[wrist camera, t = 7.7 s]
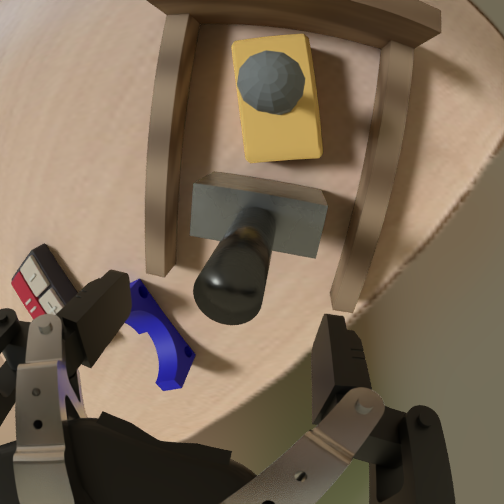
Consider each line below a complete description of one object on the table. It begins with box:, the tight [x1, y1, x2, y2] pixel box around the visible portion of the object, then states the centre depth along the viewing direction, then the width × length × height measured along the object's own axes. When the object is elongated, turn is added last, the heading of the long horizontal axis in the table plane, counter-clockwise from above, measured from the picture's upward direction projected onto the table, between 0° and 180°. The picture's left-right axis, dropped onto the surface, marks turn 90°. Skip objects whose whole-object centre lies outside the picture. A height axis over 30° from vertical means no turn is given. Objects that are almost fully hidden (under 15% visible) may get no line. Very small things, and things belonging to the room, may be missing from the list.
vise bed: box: [145, 0, 441, 313], centre depth 20 cm, size 26×20×8 cm
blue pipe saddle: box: [125, 279, 196, 391], centre depth 31 cm, size 12×4×6 cm, turn 28°
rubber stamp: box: [231, 34, 323, 163], centre depth 16 cm, size 10×6×12 cm, turn 7°
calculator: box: [11, 244, 77, 319], centre depth 34 cm, size 11×4×15 cm
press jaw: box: [190, 172, 328, 325], centre depth 18 cm, size 4×9×14 cm, turn 82°
